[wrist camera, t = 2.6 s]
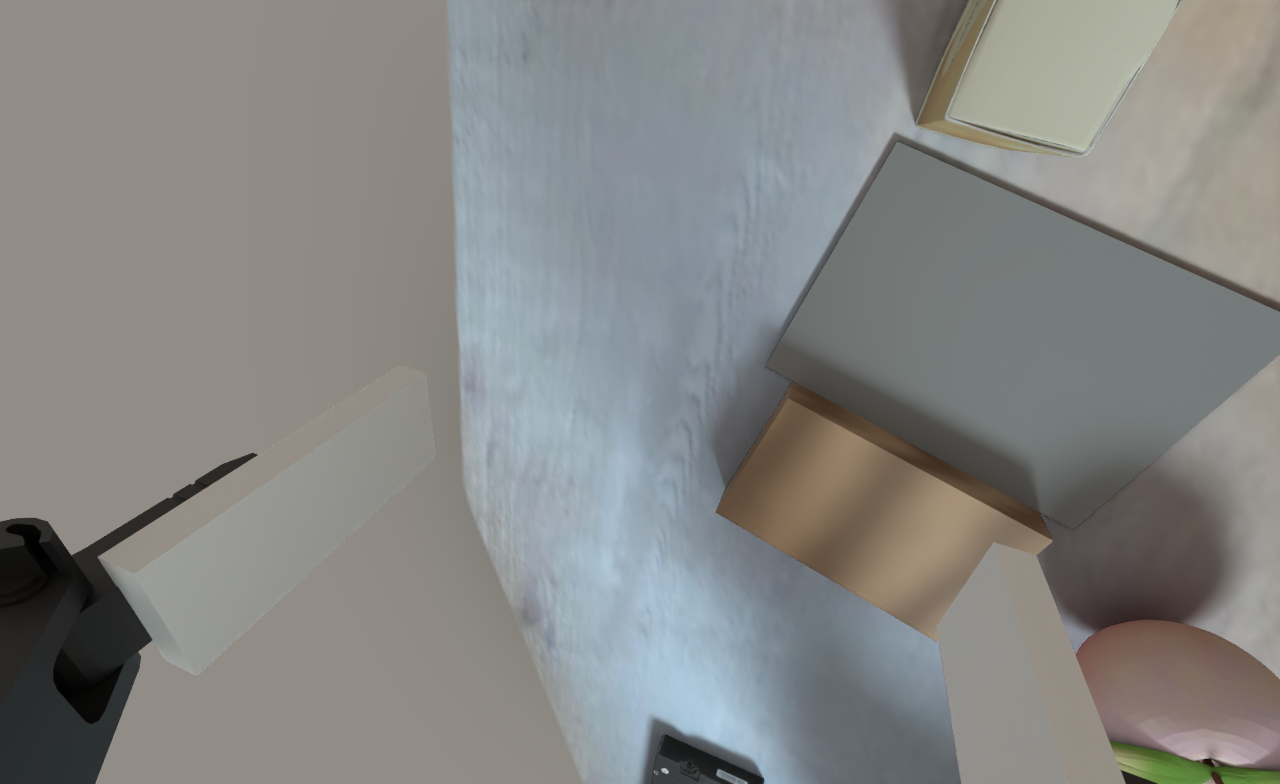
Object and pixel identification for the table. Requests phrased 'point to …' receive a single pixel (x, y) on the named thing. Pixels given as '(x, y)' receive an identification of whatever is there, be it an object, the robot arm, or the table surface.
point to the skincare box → (1041, 71)
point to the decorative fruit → (1183, 704)
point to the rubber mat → (1016, 338)
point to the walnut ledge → (872, 509)
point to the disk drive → (695, 766)
